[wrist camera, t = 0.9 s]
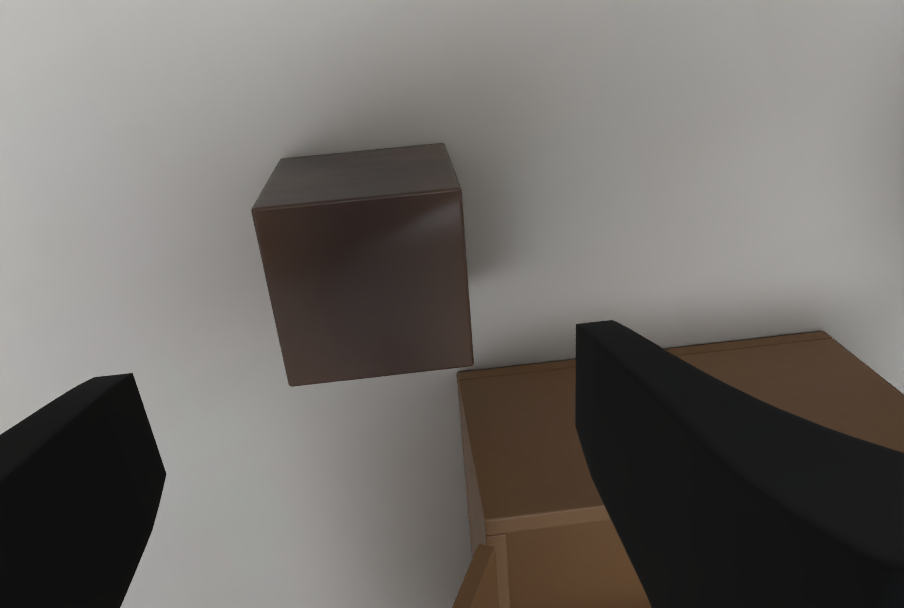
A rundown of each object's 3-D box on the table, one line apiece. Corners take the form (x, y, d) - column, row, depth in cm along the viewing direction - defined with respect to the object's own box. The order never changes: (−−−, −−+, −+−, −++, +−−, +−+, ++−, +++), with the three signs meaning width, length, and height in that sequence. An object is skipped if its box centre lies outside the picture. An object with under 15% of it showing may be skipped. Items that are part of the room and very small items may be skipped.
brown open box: (478, 631, 26) (505, 816, 21) (456, 371, 21) (484, 520, 15) (774, 592, 27) (882, 760, 21) (824, 330, 22) (986, 457, 16)
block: (307, 306, 20) (288, 387, 16) (279, 158, 18) (249, 208, 14) (456, 290, 20) (474, 366, 16) (444, 142, 18) (461, 187, 14)
